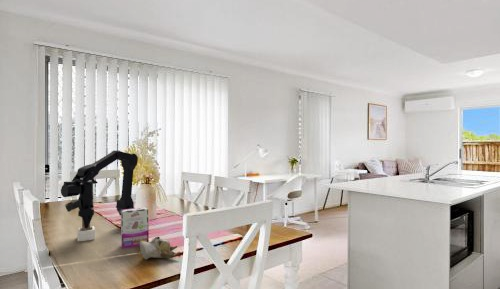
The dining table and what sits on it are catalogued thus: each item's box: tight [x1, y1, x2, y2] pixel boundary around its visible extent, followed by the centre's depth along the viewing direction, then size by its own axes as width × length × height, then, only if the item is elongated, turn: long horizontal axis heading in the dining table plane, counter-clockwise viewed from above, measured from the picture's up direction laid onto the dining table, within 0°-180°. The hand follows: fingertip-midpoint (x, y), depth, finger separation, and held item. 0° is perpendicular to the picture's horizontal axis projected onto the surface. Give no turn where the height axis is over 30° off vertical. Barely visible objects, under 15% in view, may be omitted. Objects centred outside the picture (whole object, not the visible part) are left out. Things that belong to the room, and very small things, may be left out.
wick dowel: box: [81, 217, 91, 231], centre depth 145 cm, size 3×3×9 cm
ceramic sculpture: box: [139, 236, 180, 260], centre depth 123 cm, size 11×9×15 cm
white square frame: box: [77, 225, 96, 242], centre depth 145 cm, size 7×7×4 cm
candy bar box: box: [120, 206, 150, 249], centre depth 136 cm, size 11×5×16 cm, turn 117°
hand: (86, 227), depth 145 cm, fingers open, 4 cm apart
